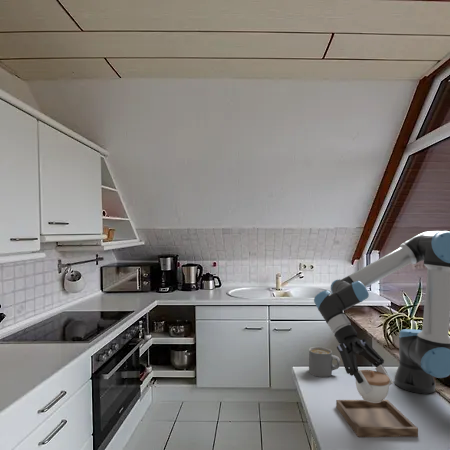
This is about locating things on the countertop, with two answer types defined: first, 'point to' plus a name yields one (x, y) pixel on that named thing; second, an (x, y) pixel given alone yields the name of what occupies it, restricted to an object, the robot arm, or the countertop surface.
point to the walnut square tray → (376, 419)
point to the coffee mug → (322, 362)
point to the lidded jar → (374, 386)
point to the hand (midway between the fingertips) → (380, 388)
